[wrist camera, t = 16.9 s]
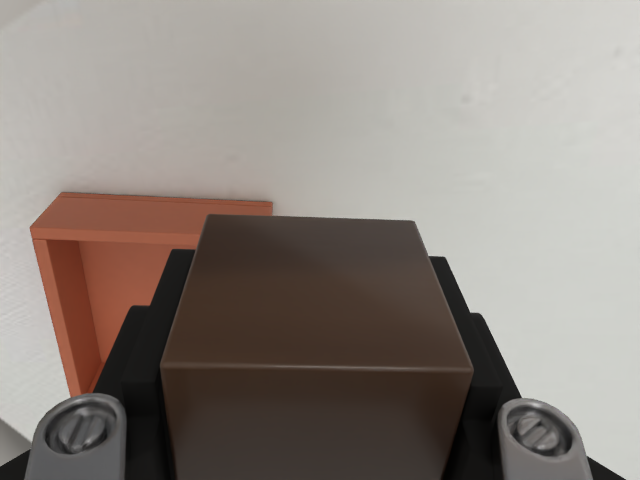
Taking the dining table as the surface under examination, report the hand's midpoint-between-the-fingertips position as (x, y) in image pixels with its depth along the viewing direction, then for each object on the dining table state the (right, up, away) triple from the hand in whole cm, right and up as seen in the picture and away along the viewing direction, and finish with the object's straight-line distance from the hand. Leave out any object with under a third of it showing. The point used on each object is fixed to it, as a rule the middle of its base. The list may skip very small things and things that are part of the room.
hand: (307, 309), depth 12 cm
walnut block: (0, 0, 0) cm, 0 cm away
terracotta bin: (-7, -1, +16) cm, 18 cm away
